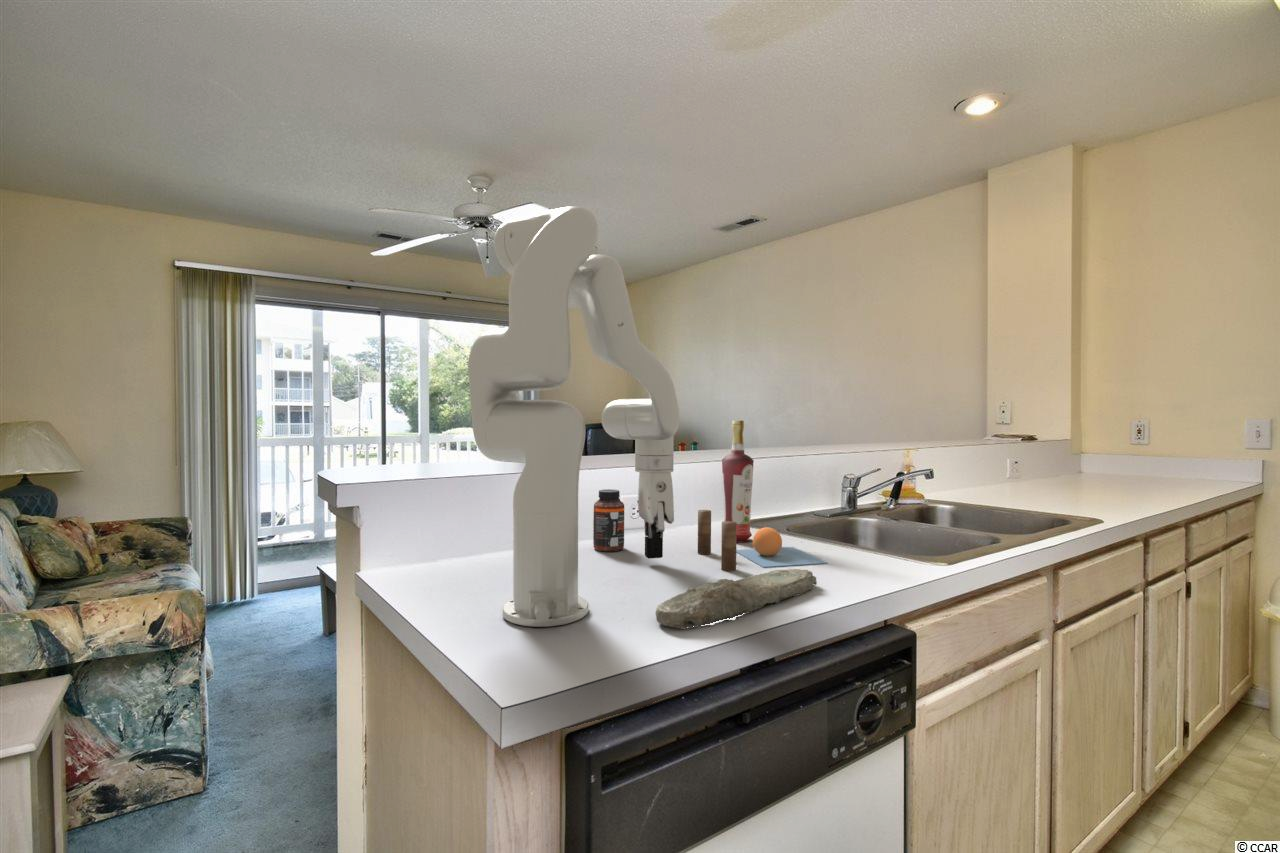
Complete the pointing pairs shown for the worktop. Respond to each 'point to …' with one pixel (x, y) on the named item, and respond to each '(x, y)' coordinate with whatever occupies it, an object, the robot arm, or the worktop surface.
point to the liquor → (738, 484)
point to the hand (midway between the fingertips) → (653, 557)
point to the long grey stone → (732, 597)
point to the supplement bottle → (608, 522)
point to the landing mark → (781, 558)
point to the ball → (767, 541)
